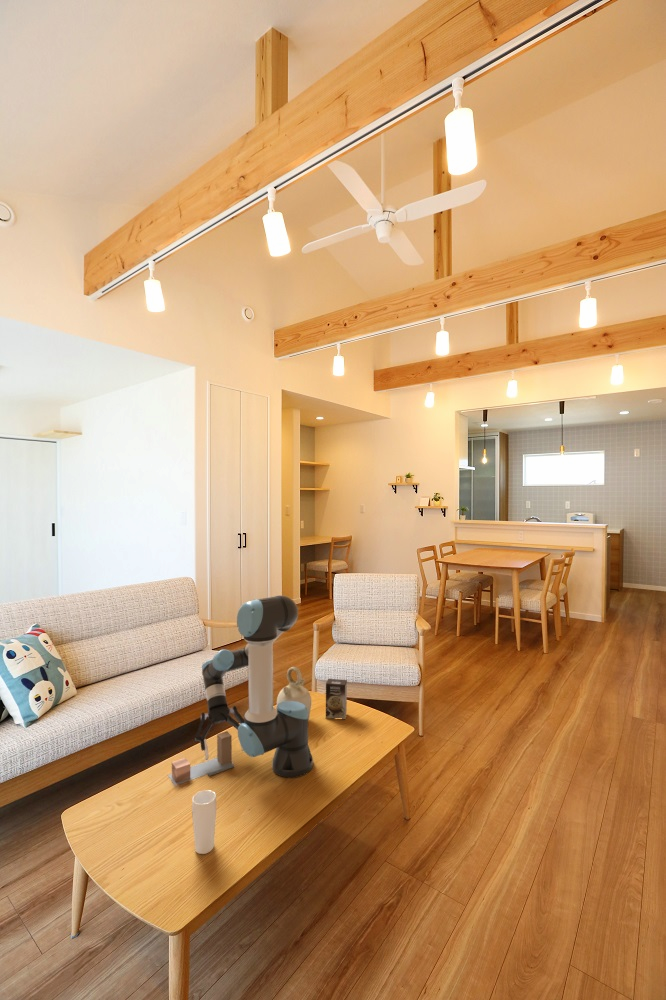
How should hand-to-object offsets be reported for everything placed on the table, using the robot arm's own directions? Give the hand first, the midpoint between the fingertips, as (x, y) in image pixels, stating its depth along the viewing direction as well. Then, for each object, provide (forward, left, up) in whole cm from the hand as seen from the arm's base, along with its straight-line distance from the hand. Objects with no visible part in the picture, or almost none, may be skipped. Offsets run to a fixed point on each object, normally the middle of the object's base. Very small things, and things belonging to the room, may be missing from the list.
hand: (225, 754), depth 178 cm
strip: (+2, +9, -5) cm, 10 cm away
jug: (+14, -38, -5) cm, 41 cm away
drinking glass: (-34, +22, -5) cm, 41 cm away
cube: (+2, +16, -4) cm, 17 cm away
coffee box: (+7, -57, -5) cm, 58 cm away
